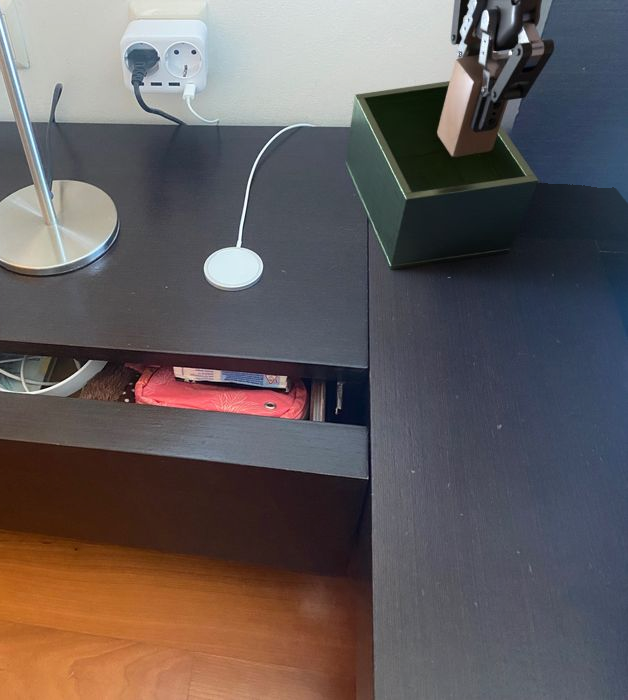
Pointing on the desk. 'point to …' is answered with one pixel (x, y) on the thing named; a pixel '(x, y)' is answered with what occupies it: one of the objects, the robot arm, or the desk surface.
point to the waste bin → (432, 181)
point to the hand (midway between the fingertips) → (472, 112)
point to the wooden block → (465, 110)
